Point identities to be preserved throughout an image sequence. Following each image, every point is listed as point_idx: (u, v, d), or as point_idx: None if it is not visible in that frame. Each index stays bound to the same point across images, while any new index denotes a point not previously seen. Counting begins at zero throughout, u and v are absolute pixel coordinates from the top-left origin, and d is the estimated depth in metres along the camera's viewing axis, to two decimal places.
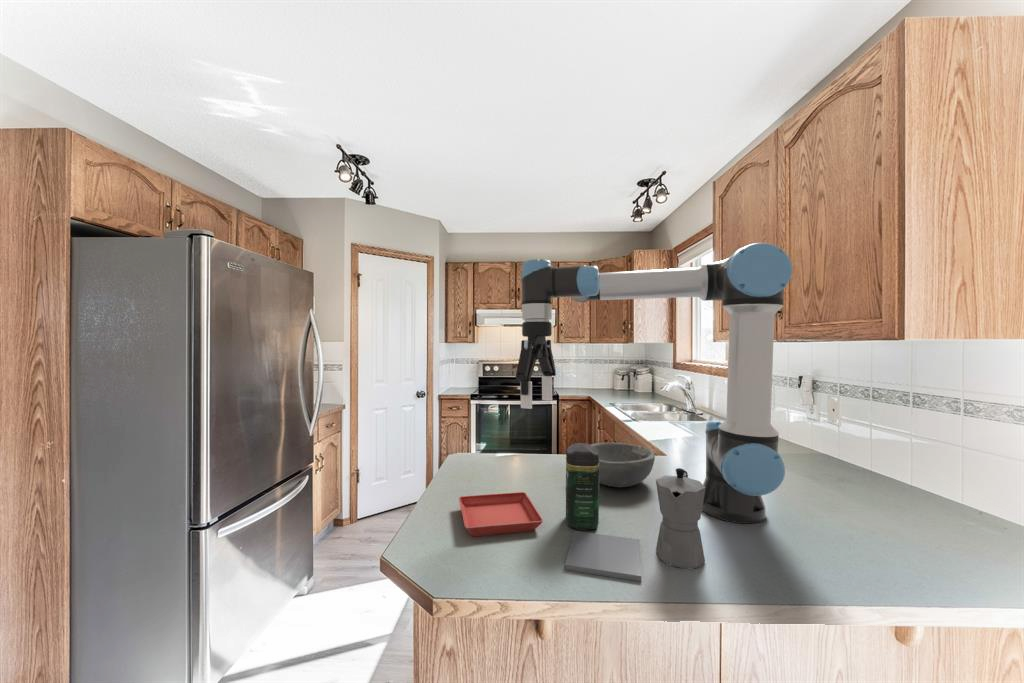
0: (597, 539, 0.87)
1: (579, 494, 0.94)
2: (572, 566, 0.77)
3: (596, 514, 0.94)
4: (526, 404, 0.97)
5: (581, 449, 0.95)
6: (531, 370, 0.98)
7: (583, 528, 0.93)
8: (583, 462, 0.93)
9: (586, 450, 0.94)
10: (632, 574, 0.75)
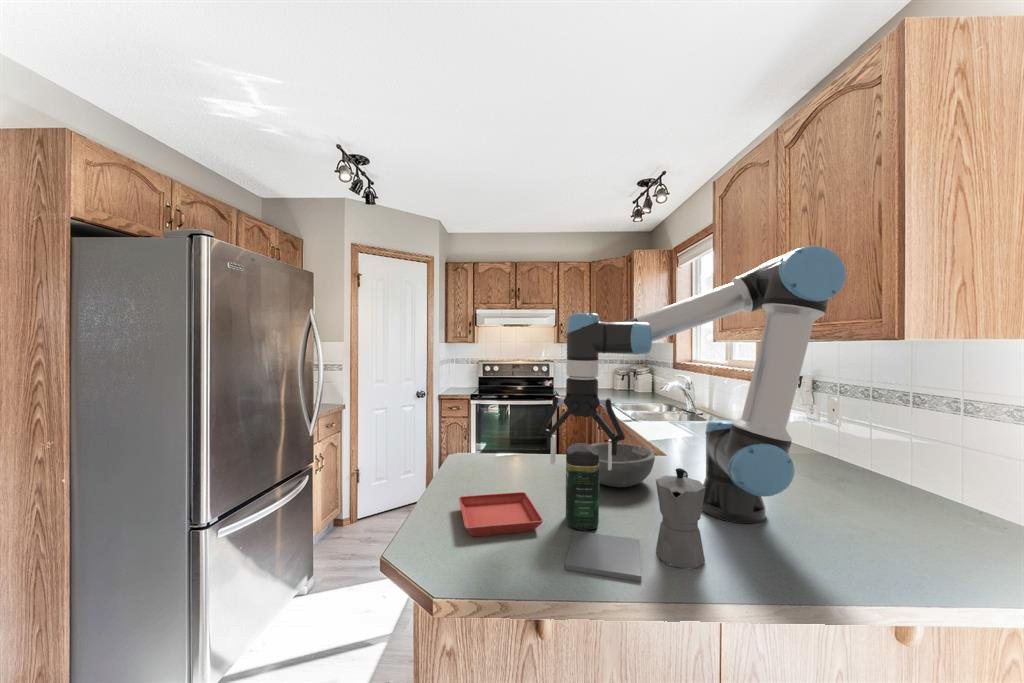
0: (597, 539, 0.87)
1: (579, 494, 0.94)
2: (572, 566, 0.77)
3: (596, 514, 0.94)
4: None
5: (582, 449, 0.95)
6: (554, 426, 0.98)
7: (583, 528, 0.93)
8: (583, 462, 0.93)
9: (586, 450, 0.94)
10: (632, 574, 0.75)
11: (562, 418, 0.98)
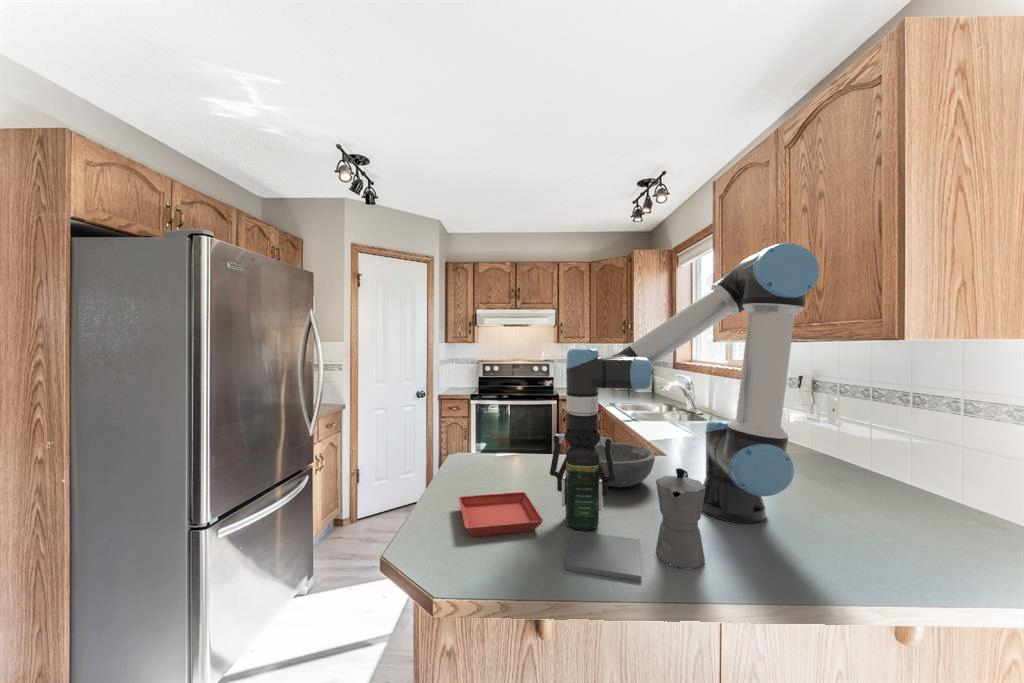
0: (597, 539, 0.87)
1: (579, 494, 0.94)
2: (572, 566, 0.77)
3: (596, 514, 0.94)
4: None
5: (581, 449, 0.95)
6: (563, 467, 0.98)
7: (583, 528, 0.93)
8: (583, 462, 0.93)
9: (586, 450, 0.94)
10: (632, 574, 0.75)
11: None
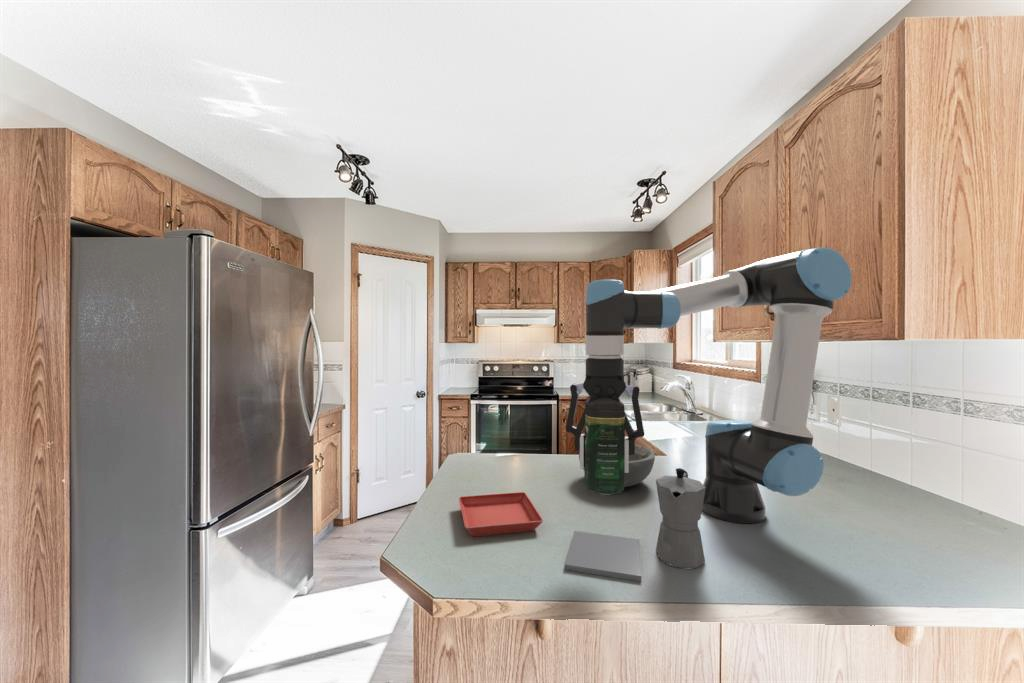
0: (597, 539, 0.87)
1: (602, 452, 0.78)
2: (572, 566, 0.77)
3: (622, 476, 0.79)
4: None
5: (604, 399, 0.79)
6: (581, 422, 0.82)
7: (607, 492, 0.78)
8: (607, 413, 0.78)
9: (610, 399, 0.79)
10: (632, 574, 0.75)
11: None
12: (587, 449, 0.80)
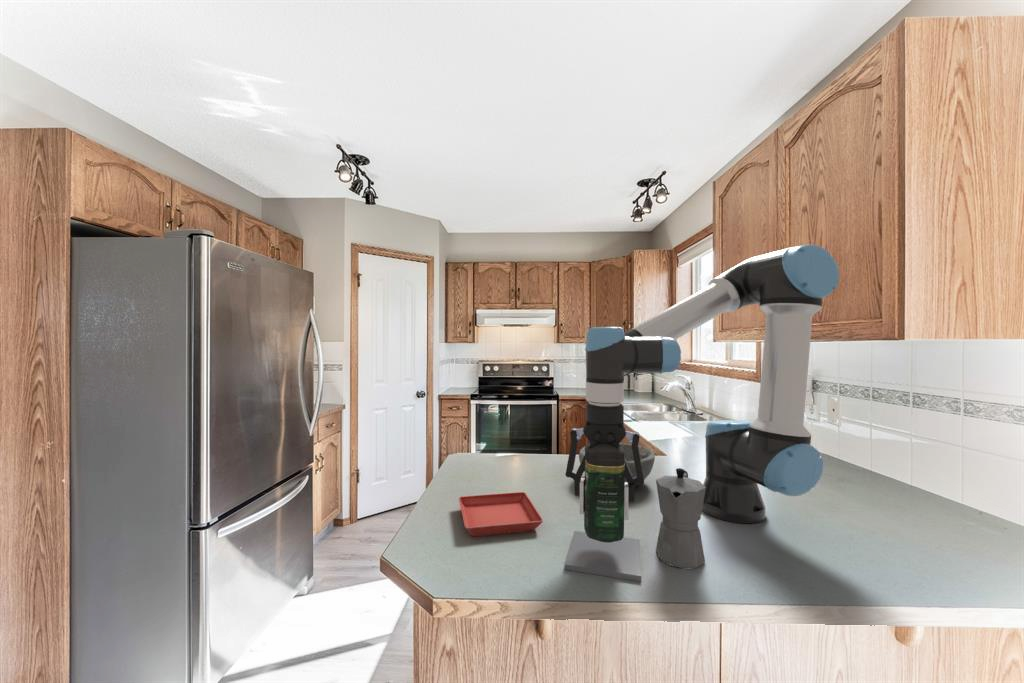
0: None
1: (602, 500, 0.78)
2: (572, 566, 0.77)
3: (622, 523, 0.79)
4: None
5: (604, 446, 0.80)
6: (581, 467, 0.83)
7: (606, 541, 0.78)
8: (606, 461, 0.78)
9: (610, 447, 0.79)
10: (632, 574, 0.75)
11: None
12: (587, 496, 0.80)
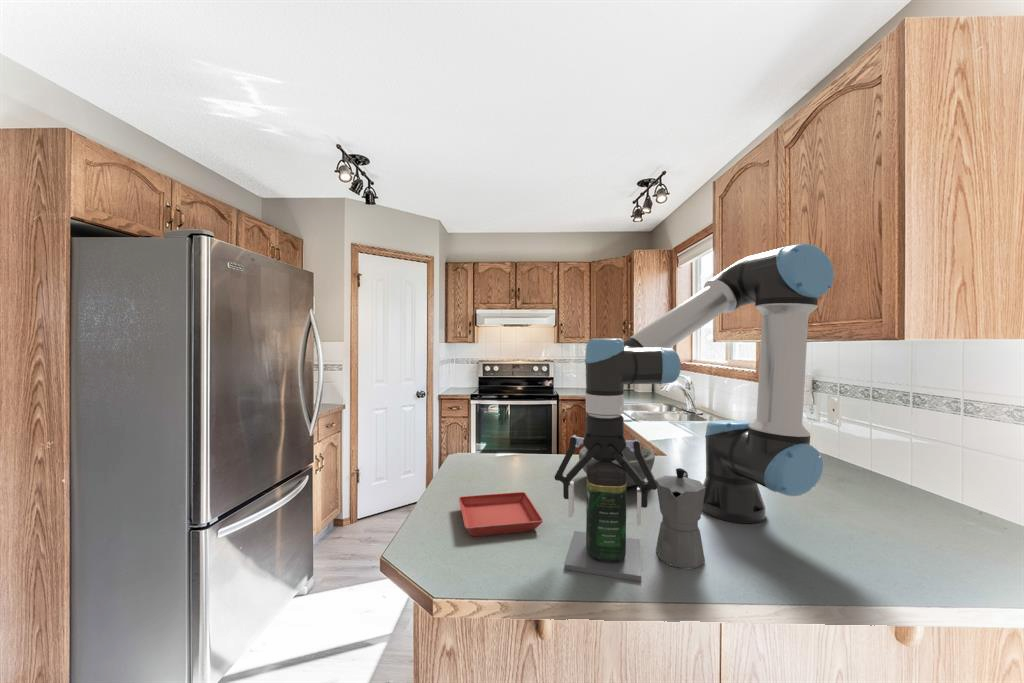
0: None
1: (603, 519, 0.79)
2: (572, 566, 0.77)
3: (623, 543, 0.79)
4: None
5: (606, 466, 0.80)
6: (572, 472, 0.83)
7: (608, 560, 0.78)
8: (608, 481, 0.78)
9: (611, 466, 0.79)
10: (632, 574, 0.75)
11: (582, 462, 0.83)
12: (588, 515, 0.81)
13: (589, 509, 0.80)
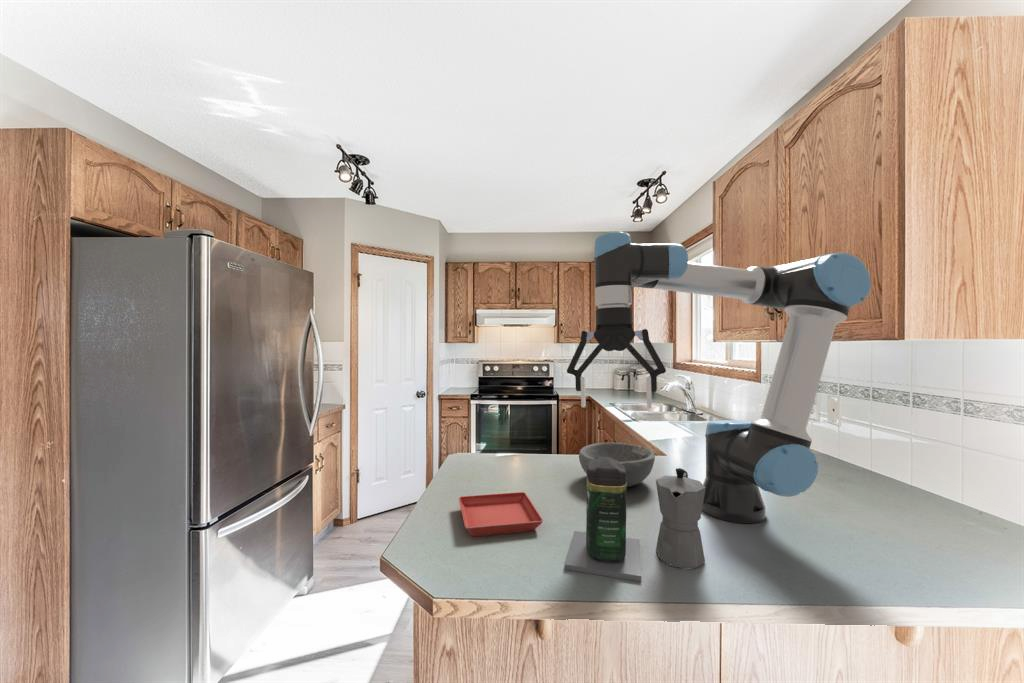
0: None
1: (603, 519, 0.79)
2: (572, 566, 0.77)
3: (623, 543, 0.79)
4: None
5: (606, 466, 0.80)
6: (584, 364, 0.87)
7: (608, 560, 0.78)
8: (608, 481, 0.78)
9: (611, 466, 0.79)
10: (632, 574, 0.75)
11: (593, 354, 0.86)
12: (588, 515, 0.81)
13: (589, 509, 0.80)
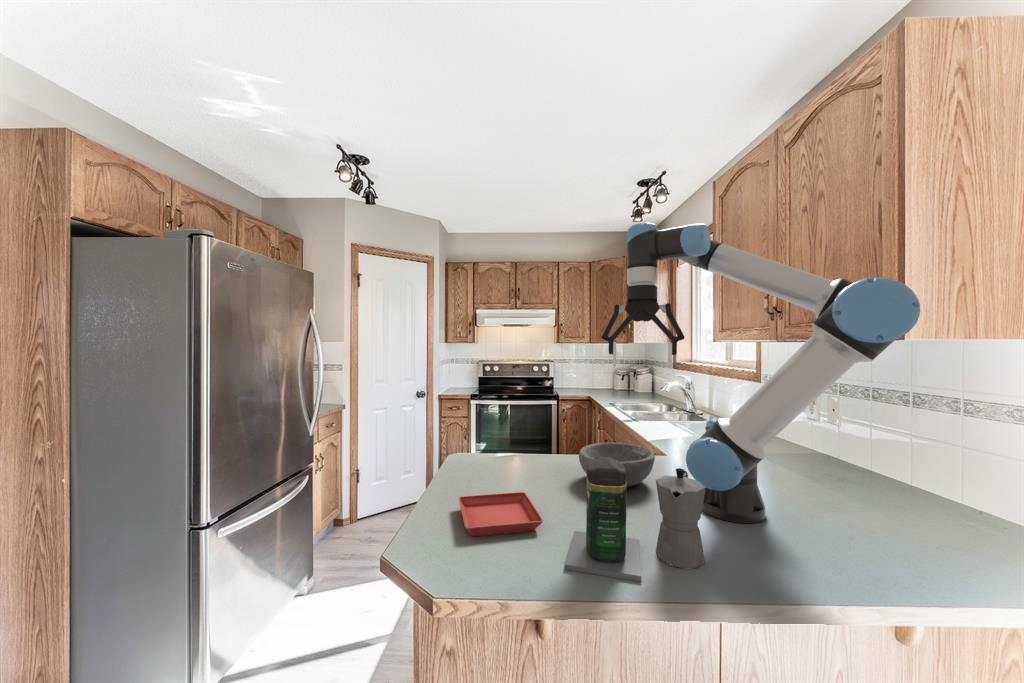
0: None
1: (603, 519, 0.79)
2: (572, 566, 0.77)
3: (623, 543, 0.79)
4: None
5: (606, 466, 0.80)
6: (616, 332, 1.06)
7: (608, 560, 0.78)
8: (608, 481, 0.78)
9: (611, 466, 0.79)
10: (632, 574, 0.75)
11: (624, 323, 1.05)
12: (588, 515, 0.81)
13: (589, 509, 0.80)
